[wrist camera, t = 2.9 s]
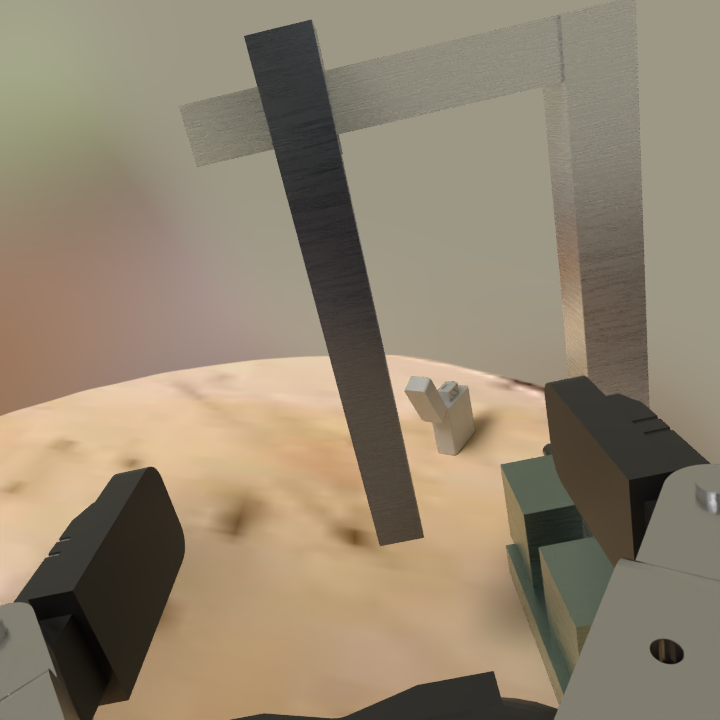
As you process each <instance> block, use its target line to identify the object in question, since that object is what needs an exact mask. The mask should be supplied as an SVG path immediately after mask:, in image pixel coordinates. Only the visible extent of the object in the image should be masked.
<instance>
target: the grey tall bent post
mask: <svg viewBox="0 0 720 720" xmlns="http://www.w3.org/2000/svg"><path fill="white" fill-rule="evenodd" d="M324 75H325V80H326V85H327V89H328V94H329V98H330V103H331V108H332V112H333V117H334V122H335V126H336V131H337V134H341V133H345V132H350V131H354V130H359V129H363V128H367V127H371V126H376V125H380V124H384V123H388V122H393V121H397V120H402V119H406V118H410V117H414V116H419V115H423V114H427V113H431V112H436V111H440V110H445V109H449V108H453V107H458V106H462V105H466V104H470V103H474V102H479V101H483V100H488V99H491V98H496V97H500V96H505V95H509V94H513V93H517V92H522V91H526V90H530V89H535V88H539V87H543V95H544V106H545V117H546V126H547V127H546V128H547V139H548V150H549V161H550V172H551V184H552V194H553V206H554V217H555V228H556V238H557V250H558V261H559V271H560V283H561V295H562V305H563V317H564V327H565V339H566V350H567V360H568V372H569V378H573V377H578V376H583V375H585V376H586V377H588V378H589V379H590V380H591V381H592V382H593V383H594V384H595V385H596V386H597V387H598V388H599V389H600V390H601V391H602V392H603V393H604V394H605V395H606V396H608V395H613V394H617V393H619V394H622V395H624V396H627V397H629V398H632V399H635V400H637V401H640V402H642V403H643V404H645V405H646V406H647V407H648V408H649V409H650V407H649V379H648V352H647V350H648V349H647V323H646V322H647V320H646V293H645V292H646V291H645V264H644V263H645V262H644V235H643V205H642V176H641V149H640V119H639V89H638V61H637V32H636V2H635V0H617V1H613V2H609V3H605V4H601V5H596V6H593V7H589V8H584V9H580V10H576V11H572V12H567V13H563V14H560V15H557V16H553V17H549V18H544V19H540V20H536V21H532V22H528V23H523V24H520V25H515V26H511V27H507V28H503V29H499V30H494V31H490V32H486V33H482V34H478V35H473V36H469V37H465V38H461V39H457V40H452V41H448V42H444V43H440V44H436V45H431V46H427V47H423V48H419V49H415V50H410V51H406V52H402V53H398V54H394V55H390V56H385V57H381V58H377V59H373V60H369V61H364V62H361V63H356V64H352V65H348V66H344V67H339V68H335V69H332V70H327V71H324ZM179 108H180V112H181V115H182V118H183V121H184V125H185V128H186V131H187V135H188V138H189V141H190V144H191V148H192V151H193V154H194V158H195V161H196V164H197V167H200V166H204V165H208V164H212V163H217V162H221V161H225V160H229V159H234V158H238V157H242V156H247V155H251V154H255V153H260V152H264V151H268V150H272V149H274V147H273V143H272V139H271V135H270V132H269V128H268V124H267V120H266V117H265V113H264V109H263V105H262V102H261V98H260V94H259V90H258V87H256V88H251V89H247V90H243V91H239V92H235V93H230V94H227V95H222V96H218V97H214V98H209V99H205V100H201V101H197V102H193V103H189V104H185V105H180V106H179ZM543 454H544V456H542V457H537V458H532V459H527V460H522V461H517V462H512V463H507V464H502V465H501V472H502V479H503V486H504V492H505V499H506V506H507V513H508V520H509V526H510V533H511V537H512V539H513V542H514V544H512V545H507V546H506V549H507V556H508V562H509V569H510V574H511V576H512V579H513V582H514V584H515V587H516V590H517V592H518V595H519V598H520V600H521V603H522V606H523V608H524V611H525V614H526V616H527V619H528V622H529V624H530V627H531V630H532V632H533V635H534V638H535V640H536V643H537V646H538V648H539V651H540V654H541V657H542V659H543V662H544V665H545V667H546V670H547V673H548V675H549V678H550V681H551V683H552V686H553V689H554V691H555V694H556V697H557V699H558V702H559V705H560V703H561V701H562V698H563V696H564V693H565V691H566V688H567V686H568V683H569V681H570V678H571V676H572V673H573V671H574V668H575V666H576V663H577V661H578V658H579V656H580V653H581V651H582V648H583V646H584V643H585V641H586V638H587V636H588V633H589V631H590V628H591V626H592V623H593V621H594V618H595V616H596V613H597V611H598V608H599V606H600V603H601V601H602V598H603V596H604V593H605V591H606V588H607V586H608V584H609V581H610V579H611V576H612V574H613V571H614V567H613V565H612V564H611V562H610V561H609V559H608V557H607V556H606V554H605V553H604V551H603V549H602V548H601V546H600V544H599V543H598V541H597V540H596V538H595V536H594V535H593V533H592V532H591V530H590V528H589V527H588V525H587V523H586V522H585V520H584V519H583V517H582V515H581V514H580V512H579V511H578V509H577V507H576V506H575V504H574V503H573V501H572V499H571V498H570V496H569V494H568V493H567V491H566V490H565V488H564V486H563V485H562V483H561V481H560V479H559V476H558V474H557V471H556V468H555V464H554V461H553V456H552V449H551V444H547V445H546V446H545V447H544V448H543Z"/></svg>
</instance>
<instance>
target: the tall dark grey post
mask: <svg viewBox="0 0 720 720" xmlns="http://www.w3.org/2000/svg"><path fill="white" fill-rule="evenodd" d="M244 38H245V41H246V45H247V49H248V53H249V57H250V60H251V64H252V68H253V71H254V75H255V79H256V83H257V87H258V90H259V94H260V98H261V102H262V105H263V109H264V113H265V117H266V120H267V124H268V128H269V132H270V135H271V139H272V143H273V147H274V150H275V154H276V158H277V161H278V165H279V169H280V173H281V177H282V180H283V184H284V188H285V192H286V195H287V199H288V202H289V207H290V210H291V214H292V218H293V222H294V225H295V229H296V233H297V237H298V240H299V244H300V248H301V252H302V255H303V259H304V262H305V267H306V270H307V274H308V278H309V282H310V285H311V289H312V293H313V296H314V300H315V304H316V308H317V312H318V315H319V319H320V323H321V327H322V330H323V334H324V338H325V341H326V345H327V349H328V353H329V357H330V360H331V364H332V368H333V372H334V375H335V379H336V383H337V387H338V390H339V394H340V398H341V402H342V405H343V409H344V413H345V417H346V420H347V424H348V428H349V432H350V435H351V439H352V443H353V447H354V450H355V454H356V458H357V462H358V465H359V469H360V473H361V477H362V480H363V484H364V488H365V492H366V495H367V499H368V503H369V507H370V510H371V514H372V518H373V522H374V525H375V529H376V533H377V537H378V540H379V544H380V546H383V545H388V544H393V543H399V542H404V541H409V540H414V539H419V538H424V535H423V530H422V525H421V520H420V515H419V510H418V505H417V500H416V496H415V491H414V486H413V482H412V477H411V473H410V468H409V463H408V459H407V454H406V449H405V445H404V440H403V436H402V431H401V426H400V422H399V417H398V413H397V408H396V403H395V399H394V394H393V389H392V385H391V380H390V376H389V371H388V366H387V362H386V357H385V352H384V348H383V344H382V339H381V334H380V329H379V325H378V320H377V316H376V311H375V306H374V302H373V297H372V292H371V288H370V283H369V279H368V274H367V269H366V265H365V260H364V255H363V251H362V247H361V242H360V237H359V232H358V228H357V223H356V219H355V214H354V209H353V205H352V200H351V196H350V191H349V186H348V182H347V177H346V173H345V168H344V163H343V159H342V148H341V143H340V139H339V134H337V131H336V126H335V122H334V117H333V112H332V108H331V103H330V98H329V94H328V89H327V85H326V80H325V75H324V71H325V69H324V64H323V60H322V55H321V50H320V46H319V41H318V37H317V32H316V28H315V26H314V24H313V22H312V20H308V21H304V22H300V23H296V24H291V25H288V26H283V27H279V28H275V29H271V30H267V31H263V32H259V33H255V34H251V35H246V36H244Z"/></svg>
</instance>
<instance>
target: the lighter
mask: <svg viewBox="0 0 720 720" xmlns="http://www.w3.org/2000/svg"><path fill="white" fill-rule="evenodd" d="M404 392H405V393H406V395H407V396H408V398H409V400H410V401H411V403H412V404H413V406H414V407H415V409H416V411H417V412H418V414H419V415H420V417H421V419H422V420H423V421H426V422H432V423H433V428H434V433H435V438H436V444H437V449H438V452H439V453H441V454H448V455H457V454H458V453H459V451H460V450H461V449H462V448H463V446H464V445H465V444H466V442H467V441H468V440H469V438H470V437H471V436H472V435H473V433H474V432H475V426H474V420H473V414H472V408H471V402H470V395H469V389H468V386H462V385H458V384H457V382H454V381H452V382H445V383H444V384H443V385H442V386H441V387H440V388H439V389H438V390H437V389H436V387H435V386H434V384H433V382H432V380H431V379H430V378H428V377H415V376H411V378H410V380H409V382H408V384H407V387H406V389H405V391H404Z"/></svg>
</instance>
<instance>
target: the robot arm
mask: <svg viewBox="0 0 720 720" xmlns="http://www.w3.org/2000/svg"><path fill="white" fill-rule="evenodd" d="M545 401H546V409H547V417H548V425H549V433H550V441H551V449H552V456H553V461H554V464H555V468H556V471H557V474H558V476H559V479H560V481H561V483H562V485H563V486H564V488H565V490H566V491H567V493H568V494H569V496H570V498H571V499H572V501H573V503H574V504H575V506H576V507H577V509H578V511H579V512H580V514H581V515H582V517H583V519H584V520H585V522H586V523H587V525H588V527H589V528H590V530H591V532H592V533H593V535H594V536H595V538H596V540H597V541H598V543H599V544H600V546H601V548H602V549H603V551H604V553H605V554H606V556H607V557H608V559H609V561H610V562H611V564H612V565H613V567H614V571H613V574H612V576H611V579H610V581H609V584H608V586H607V588H606V591H605V593H604V596H603V598H602V601H601V603H600V606H599V608H598V611H597V613H596V616H595V618H594V621H593V623H592V626H591V628H590V631H589V633H588V636H587V638H586V641H585V643H584V646H583V648H582V651H581V653H580V656H579V658H578V661H577V663H576V666H575V668H574V671H573V673H572V676H571V678H570V681H569V683H568V686H567V688H566V691H565V693H564V696H563V698H562V701H561V703H560V706H559V708H558V709H556V708H553V707H550V706H547V705H543V704H540V703H537V702H532V701H527V700H522V699H516V698H504V697H501V696H500V693H499V689H498V685H497V682H496V678H495V674H494V671H492V672H486V673H481V674H475V675H470V676H465V677H459V678H454V679H448V680H443V681H438V682H432V683H427V684H421V685H417V686H415V687H412V688H410V689H408V690H405V691H403V692H401V693H399V694H396V695H394V696H392V697H389V698H387V699H385V700H382V701H380V702H378V703H376V704H373V705H371V706H369V707H366V708H364V709H362V710H360V711H357V712H355V713H353V714H350V715H348V716H345V717H342V718H333V719H331V718H318V717H304V716H290V715H277V714H259V715H253V716H248V717H242V718H237V719H232V720H720V465H719V464H710V463H709V462H708V461H707V460H706V459H705V458H704V457H702V456H701V455H700V454H699V453H698V452H697V451H696V450H695V449H693V448H692V447H691V446H690V445H689V444H688V443H687V442H686V441H685V440H683V439H682V438H681V437H680V436H679V435H678V434H677V433H676V432H675V431H673V430H670V427H669V426H668V425H667V424H666V423H665V422H663V421H662V420H661V419H658V417H657V415H656V414H654V413H653V412H652V411H651V410H650V409H649V408H648V407H647V406H646V405H645V404H643V403H642V402H640V401H637V400H635V399H632V398H629V397H627V396H624V395H622V394H619V393H617V394H613V395H608V396H606V395H605V394H604V393H603V392H602V391H601V390H600V389H599V388H598V387H597V386H596V385H595V384H594V383H593V382H592V381H591V380H590V379H589V378H588V377H586V376H585V375H583V376H578V377H573V378H569V379H564V380H559V381H555V382H550V383H546V385H545ZM59 540H60V542H57V543H56V544H55V545H54V547H53V548H52V550H51V551H50V552H49V557H47V558H45V559H44V561H43V562H42V564H41V565H40V566H39V568H38V569H37V571H36V572H35V573H34V575H33V576H32V577H31V579H30V580H29V582H28V583H27V584H26V586H25V587H24V589H23V590H22V591H21V593H20V594H19V596H18V597H17V598H16V600H15V601H14V603H9V604H5V605H2V606H0V720H94V719H93V717H94V715H95V712H96V710H97V708H98V706H100V705H105V704H110V703H116V702H121V701H126V700H129V698H130V695H131V693H132V690H133V688H134V685H135V682H136V680H137V677H138V675H139V672H140V669H141V667H142V664H143V662H144V659H145V657H146V654H147V651H148V649H149V646H150V644H151V641H152V639H153V636H154V633H155V631H156V628H157V626H158V623H159V621H160V618H161V615H162V613H163V610H164V608H165V605H166V602H167V600H168V597H169V595H170V592H171V590H172V587H173V584H174V582H175V579H176V577H177V574H178V572H179V569H180V566H181V564H182V561H183V558H184V553H185V540H184V534H183V530H182V527H181V524H180V522H179V519H178V517H177V514H176V512H175V510H174V507H173V505H172V502H171V500H170V497H169V495H168V492H167V490H166V487H165V485H164V482H163V480H162V478H161V475H160V474H159V472H158V471H157V470H156V469H155V468H154V467H147V468H142V469H138V470H133V471H128V472H124V473H119V474H115V475H114V476H113V477H112V478H111V480H110V481H109V483H108V484H107V486H106V487H105V488H104V490H103V491H102V493H101V494H100V496H99V497H98V499H97V500H96V501H95V503H93V504H91V505H90V506H89V507H88V508H87V509H85V510H84V511H83V512H82V513H81V514H80V515H78V516H77V517H76V518H75V519H74V520H72V522H71V523H70V524H69V526H68V527H67V529H66V530H65V531H64V533H63V534H62V536H61V537H60V538H59Z"/></svg>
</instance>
